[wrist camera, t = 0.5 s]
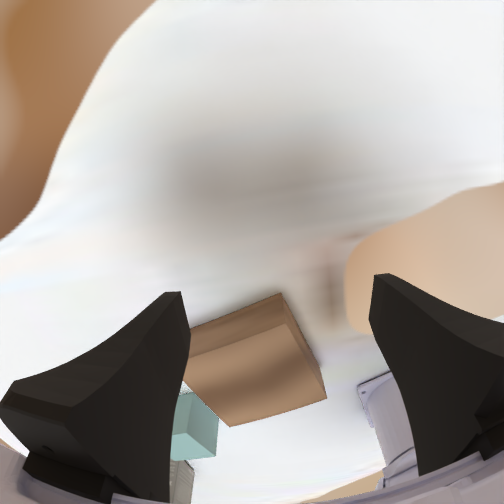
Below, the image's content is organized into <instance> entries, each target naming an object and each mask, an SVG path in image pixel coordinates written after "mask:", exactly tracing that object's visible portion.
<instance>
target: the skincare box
mask: <svg viewBox="0 0 504 504" xmlns="http://www.w3.org/2000/svg"><path fill="white" fill-rule="evenodd" d="M193 481H194V471H193V470H192V469H191V468H190V467H189V466H188V465H187V463H186V462H185V461H184V460H180V461H174V460H172V459H171V458H170V504H191V496H192V489H193Z"/></svg>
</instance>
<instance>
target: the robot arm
mask: <svg viewBox="0 0 504 504" xmlns="http://www.w3.org/2000/svg"><path fill="white" fill-rule="evenodd" d="M369 322H370V325H371V328H372V331H373V334H374V337H375V340H376V342H377V344H378V346H379V348H380V350H381V352H382V354H383V356H384V358H385V360H386V362H387V364H388V366H389V368H390V370H391V372H390V373H387V374H385V375H383V376H381V377H378V378H376V379H374V380H372V381H369V382H367V383H364V384H362V385H360V386H359V387H358V388H357V390H358V393H359V396H360V399H361V401H362V404H363V407H364V410H365V412H366V415H367V418H368V421H369V424H370V427H374V428H375V431H376V434H377V437H378V440H379V443H380V447H381V450H382V453H383V456H384V460H385V463H386V466H387V467H385V468H383V469H382V470H383V473H384V477H382V478H380V479H379V481H378V484H377V486H376V488H375V491H371V492H367V493H363V494H359V495H354V496H350V497H344V498H339V499H334V500H329V501H322V502H315V503H308V504H504V323H501V322H497V321H493V320H490V319H487V318H483V317H480V316H477V315H474V314H472V313H469V312H466V311H464V310H461V309H459V308H457V307H454V306H452V305H450V304H448V303H446V302H444V301H441V300H439V299H438V298H436V297H434V296H432V295H430V294H428V293H426V292H424V291H423V290H421V289H419V288H417V287H415V286H413V285H412V284H410V283H408V282H406V281H404V280H402V279H400V278H398V277H396V276H394V275H392V274H389V273H388V274H378V275H374V282H373V290H372V298H371V306H370V312H369ZM190 342H191V332H190V328H189V324H188V320H187V316H186V312H185V308H184V304H183V299H182V295H181V291H178V292H165V293H163V294H162V295H161V296H159V297H158V298H157V299H156V300H155V301H153V302H152V303H151V304H150V305H149V306H148V307H147V308H145V309H144V310H143V311H142V312H141V313H140V314H139V315H137V316H136V317H135V318H134V319H133V320H131V321H130V322H129V323H128V324H126V325H125V326H124V327H123V328H121V329H120V330H119V331H118V332H116V333H115V334H114V335H112V336H111V337H110V338H108V339H107V340H105V341H104V342H102V343H101V344H99V345H98V346H96V347H95V348H93V349H91V350H90V351H88V352H86V353H84V354H82V355H80V356H78V357H77V358H75V359H73V360H71V361H69V362H67V363H65V364H62V365H60V366H58V367H56V368H53V369H50V370H48V371H45V372H43V373H40V374H37V375H33V376H30V377H27V378H23V379H20V380H16V381H14V382H13V383H12V384H11V386H10V388H9V389H8V391H7V392H6V394H5V395H4V397H3V399H2V400H1V402H0V418H1V420H2V421H3V423H4V424H5V425H6V427H7V428H8V429H9V430H10V431H11V432H12V433H13V434H14V435H15V437H16V438H17V439H18V440H19V441H20V442H21V443H22V444H23V445H24V446H25V447H26V448H27V449H28V450H29V451H30V452H29V454H28V457H25V456H24V455H22V454H21V453H19V452H17V451H15V450H13V449H11V448H9V447H7V446H5V445H3V444H1V443H0V504H170V455H171V442H172V431H173V423H174V414H175V409H176V404H177V400H178V396H179V392H180V388H181V385H182V381H183V377H184V373H185V369H186V365H187V362H188V357H189V350H190Z"/></svg>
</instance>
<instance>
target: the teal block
mask: <svg viewBox="0 0 504 504" xmlns="http://www.w3.org/2000/svg"><path fill="white" fill-rule="evenodd" d="M218 422H219V418H218V417H217V416H216V415H215V414H214V413H213V412H212V411H211V410H210V409H209V408H208V407H207V406H206V405H205V404H204V403H203V402H202V401H201V400H200V399H199V398H198V397H197V396H196V395H195V393H194V392H192V393H188V394H183V395H179V396H178V400H177V404H176V409H175V414H174V423H173V431H172V442H171V455H170V458H171V459H172V460H174V461H180V460H190V459H199V458H207V457H214V456H216V447H217V434H218Z"/></svg>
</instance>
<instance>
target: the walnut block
mask: <svg viewBox="0 0 504 504" xmlns="http://www.w3.org/2000/svg"><path fill="white" fill-rule="evenodd" d="M190 332H191V342H190V350H189V357H188V362H187V365H186V369H185V373H184V377H183V381H184V382H185V383H186V384H187V385H188V386H189V388H190V389H191V390H192V391H193V392H194V393H195V394H196V395H197V396H198V397H199V398H200V399H201V400H202V401H203V402H204V403H205V404H206V405H207V406H208V407H209V408H210V409H211V410H212V411H213V412H214V413H215V414H216V415H217V416H218V417H219V418H220V419H221V420H222V421H223V422H224V423H226V424H227V425H228V426H229V427H232V426H236V425H240V424H245V423H249V422H253V421H256V420H260V419H264V418H268V417H271V416H275V415H278V414H282V413H285V412H288V411H291V410H295V409H298V408H301V407H304V406H307V405H310V404H313V403H316V402H319V401H321V400H324V399H327V395H326V391H325V387H324V383H323V379H322V375H321V371H320V367H319V365H318V363H317V361H316V359H315V357H314V356H313V354H312V352H311V350H310V348H309V346H308V344H307V342H306V340H305V338H304V336H303V334H302V332H301V331H300V329H299V327H298V325H297V323H296V321H295V319H294V317H293V315H292V313H291V311H290V309H289V308H288V306H287V304H286V302H285V300H284V298H283V296H282V294H281V293H279V294H277V295H274V296H272V297H270V298H267V299H265V300H262V301H260V302H257V303H255V304H253V305H250V306H248V307H245V308H243V309H240V310H238V311H235V312H233V313H230V314H228V315H225V316H223V317H220V318H218V319H215V320H212V321H210V322H207V323H205V324H202V325H200V326H197V327H194V328H192V329H190Z"/></svg>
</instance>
